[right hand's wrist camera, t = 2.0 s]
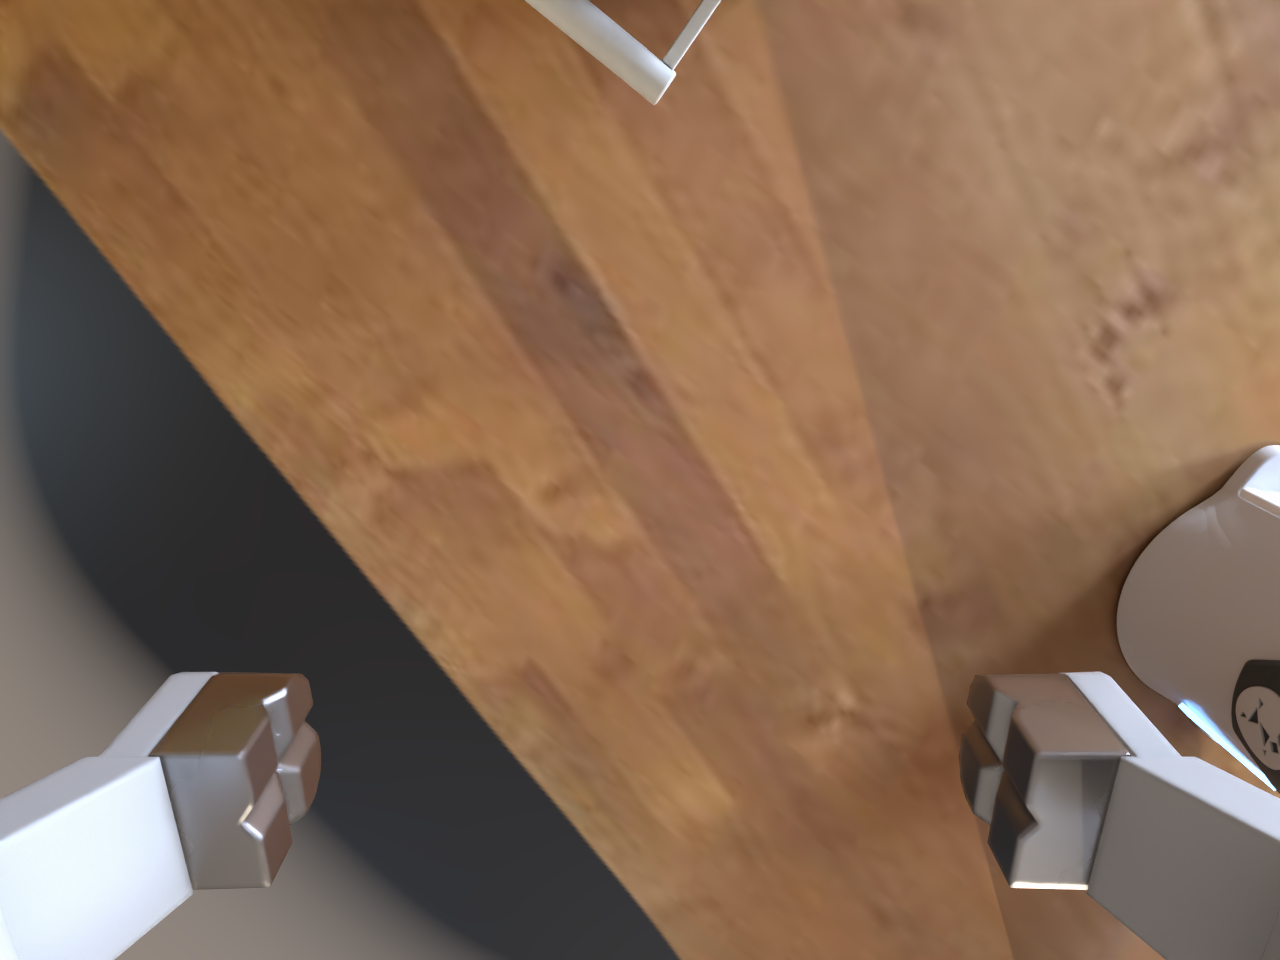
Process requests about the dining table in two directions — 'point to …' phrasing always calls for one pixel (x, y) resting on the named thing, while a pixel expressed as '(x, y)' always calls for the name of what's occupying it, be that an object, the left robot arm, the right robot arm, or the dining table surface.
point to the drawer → (623, 42)
